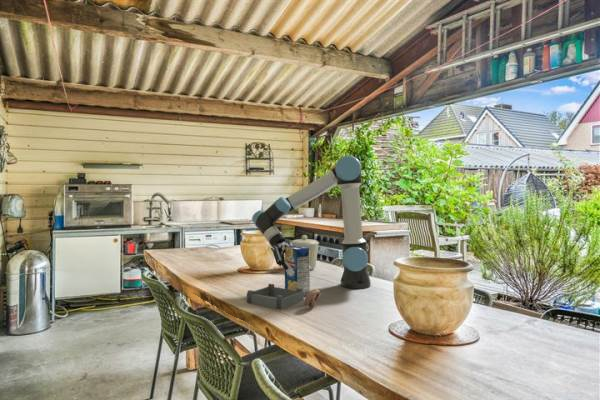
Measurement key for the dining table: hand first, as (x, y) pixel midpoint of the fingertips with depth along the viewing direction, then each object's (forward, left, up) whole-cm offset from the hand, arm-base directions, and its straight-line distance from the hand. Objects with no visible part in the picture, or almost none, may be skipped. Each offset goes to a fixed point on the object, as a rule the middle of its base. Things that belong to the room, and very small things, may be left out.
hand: (301, 272), depth 190 cm
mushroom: (-16, +16, -11) cm, 25 cm away
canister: (+32, -53, -11) cm, 63 cm away
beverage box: (+2, 0, -11) cm, 11 cm away
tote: (+3, +15, -11) cm, 19 cm away
